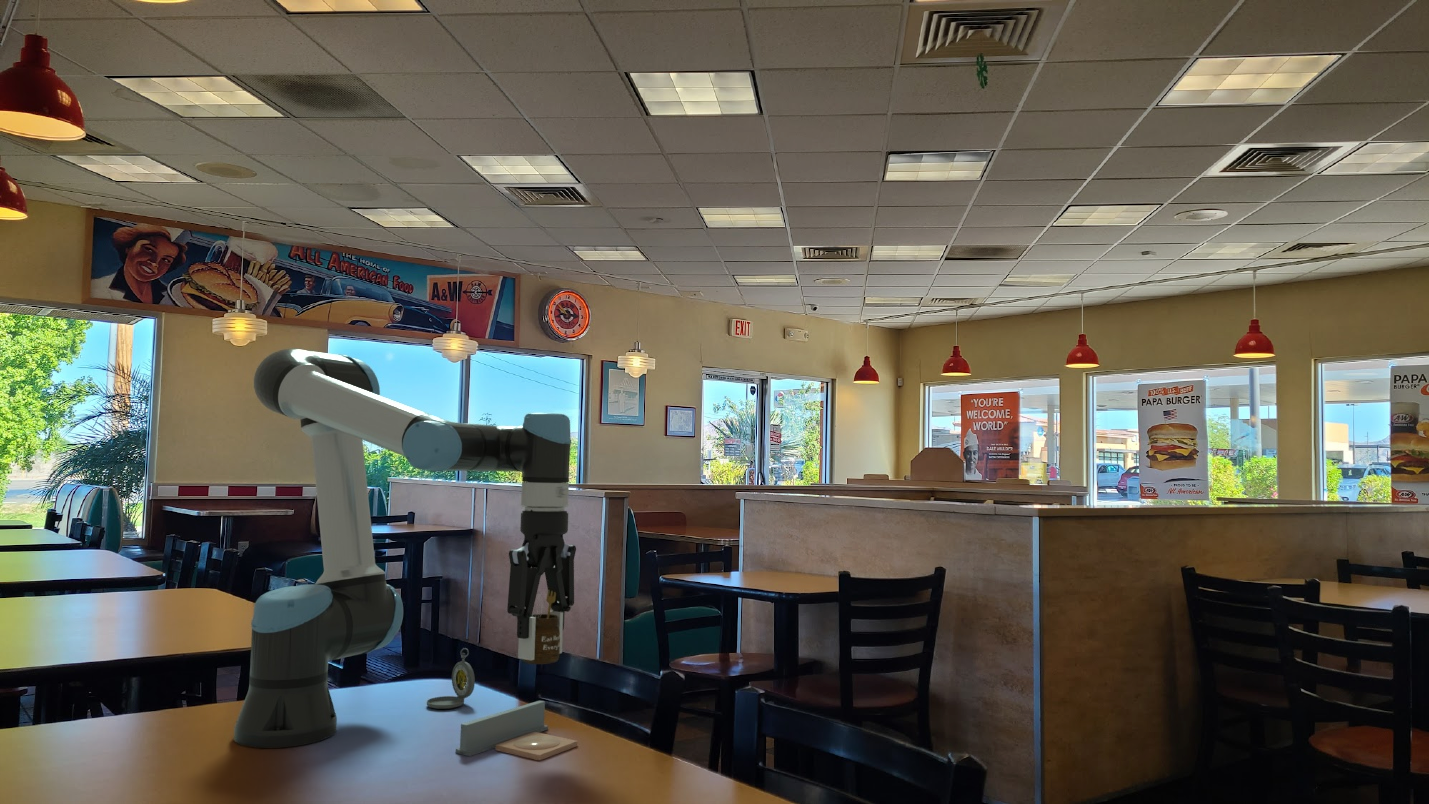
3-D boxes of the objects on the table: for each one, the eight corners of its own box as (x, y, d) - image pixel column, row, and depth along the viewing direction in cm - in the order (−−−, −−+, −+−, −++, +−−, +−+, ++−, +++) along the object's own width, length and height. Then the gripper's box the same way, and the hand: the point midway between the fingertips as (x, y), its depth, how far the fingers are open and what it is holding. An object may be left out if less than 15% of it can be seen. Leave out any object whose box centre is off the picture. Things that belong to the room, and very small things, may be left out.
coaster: (495, 750, 147) (495, 744, 147) (534, 736, 155) (534, 731, 155) (539, 760, 143) (539, 754, 143) (577, 746, 150) (577, 740, 150)
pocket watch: (419, 709, 170) (422, 653, 171) (440, 698, 179) (443, 644, 179) (462, 712, 169) (464, 655, 170) (481, 701, 177) (483, 647, 178)
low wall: (455, 752, 146) (456, 723, 146) (534, 726, 161) (535, 699, 161) (469, 756, 144) (470, 726, 144) (548, 729, 159) (548, 702, 160)
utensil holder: (513, 662, 148) (516, 585, 149) (536, 655, 154) (538, 581, 155) (546, 666, 146) (548, 588, 147) (567, 659, 152) (569, 583, 152)
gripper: (521, 512, 141) (516, 668, 140) (599, 508, 158) (595, 649, 156) (485, 510, 145) (479, 662, 144) (564, 506, 161) (560, 644, 160)
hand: (540, 655), depth 150 cm, fingers closed on utensil holder, 6 cm apart
